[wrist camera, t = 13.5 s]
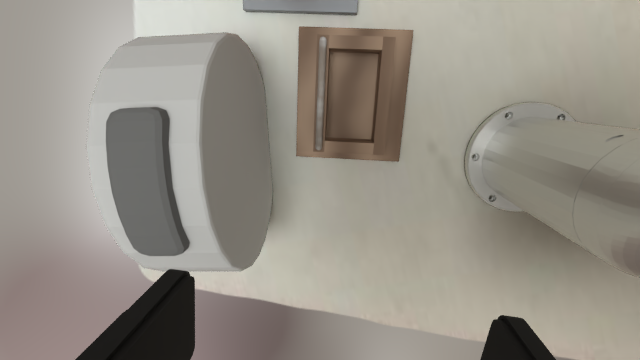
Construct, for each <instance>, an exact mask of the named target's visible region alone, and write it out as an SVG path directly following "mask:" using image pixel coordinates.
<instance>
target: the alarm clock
mask: <svg viewBox="0 0 640 360" xmlns="http://www.w3.org/2000/svg"><path fill="white" fill-rule="evenodd" d="M86 149H87V157H88V165H89V171H90V180H91V188H92V191H93V194H94V197H95V199H96V202H97V205H98V208H99V211H100V213H101V216H102V219H103V222H104V225H105V227H106V228H107V230H108V231H109V233H110V234H111V235H112V237H113V238H114V240H115V241H116V243H117V244H118V246H119V247H120V248H121V250H122V252H123V253H125V254H126V255H127V256H129V257H130V258H131V259H133V260H134V261H135V262H137V263H138V264H139V265H141V266H142V267H144V268H148V269H153V270H158V271H167V270H169V269H176V270H183V271H243V270H244V269H246V268H248V267H250V266H252V265H253V263H254V262H255V260H256V259H257V257H258V256H259V254H260V252H261V249H262V246H263V244H264V241H265V238H266V234H267V230H268V225H269V221H270V214H271V207H272V197H273V184H272V171H271V159H270V147H269V134H268V122H267V110H266V97H265V88H264V84H263V81H262V77H261V74H260V71H259V69H258V66H257V63H256V60H255V58H254V56H253V54H252V53H251V51H250V49H249V47H248V45H247V44H246V43H245V42H244V41H243V40H242V39H241V38H240V37H239V36H238V35H236V34H231V33H209V34H190V35H172V36H153V37H138V38H136V39H134V40H132V41H130V42H128V43H126V44H124V45H122V46H120V47H119V48H118V49H117V50H116V52H115V53H114V54H113V56H112V57H111V58H110V60H109V61H108V62H107V63H106V65H105V66H104V67H103V69H102V70H101V72H100V75H99V78H98V81H97V84H96V87H95V90H94V93H93V96H92V99H91V102H90V106H89V118H88V130H87V141H86Z"/></svg>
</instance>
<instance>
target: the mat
mask: <svg viewBox="0 0 640 360" xmlns="http://www.w3.org/2000/svg"><path fill="white" fill-rule="evenodd" d="M357 2H358V0H243V10H245V11H246V12H275V13H308V14H341V15H356V14H357Z"/></svg>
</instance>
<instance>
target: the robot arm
mask: <svg viewBox="0 0 640 360" xmlns="http://www.w3.org/2000/svg"><path fill="white" fill-rule="evenodd" d="M505 114H507V116H506V117H505ZM557 117H558V118H557ZM473 154H474V157H473V158H472V155H473ZM465 172H466V177H467V180H468V182H469V184H470V186H471V188H472V189H473V191H474V192H475V193H476V194H477V195H478V196H479V197H480V198H481V199H482V200H483V201H485V202H486V203H488V204H489V205H491V206H493V207H496V208H498V209H501V210H505V211H513V212H521V211H526V212H527V213H529V214H530V215H532V216H533V217H535V218H536V219H538V220H540V221H541V222H543V223H544V224H546V225H547V226H549V227H551V228H552V229H554V230H555V231H557V232H558V233H560V234H562V235H563V236H565V237H566V238H568V239H569V240H571V241H573V242H574V243H576V244H577V245H579V246H581V247H582V248H584V249H585V250H587V251H588V252H590V253H592V254H593V255H595V256H596V257H598V258H600V259H602V260H603V261H605V262H606V263H608V264H610V265H611V266H613V267H615V268H617V269H619V270H621V271H623V272H625V273H628V274H630V275H633V276H636V277H639V278H640V130H639V129H631V128H623V127H614V126H606V125H598V124H589V123H581V122H576V121H575V120H574V119H573V118H572V117H571V116H570V115H569V114H568V113H567V112H565V111H564V110H562V109H561V108H559V107H556V106H553V105H551V104H546V103H539V102H525V103H518V104H514V105H511V106H508V107H505V108H503V109H501V110H499V111H497V112H495V113H494V114H493V115H491V116H490V117H489V118H487V119H486V120H485V121H484V122H483V123H482V124H481V125H480V126H479V127H478V129H477V130H476V132H475V133H474V135H473V136H472V138H471V140H470V142H469V145H468V147H467V151H466V155H465ZM489 196H491V197H489ZM194 347H195V281H194V277H192V276H190V274H189V272H188V271H183V270H176V269H169V270H167V271H166V272H165V273H164V274H163V275H162V276H161V277H160V278H159V279H158V280H157V281H156V282H155V283H154V284H153V285H152V286H151V287H150V288H149V289H148V290H147V291H146V292H145V293H144V294H143V295H142V296H141V297H140V298H139V299H138V300H137V301H136V302H135V303H134V304H133V305H132V306H131V307H130V308H129V309H128V310H126V311H125V312H124V313H122V314H121V315H120V316H119V317H118V318H117V319H116V320H115V321H114V322H113V323H112V324H111V325H110V326H109V327H108V328H107V329H106V330H105V331H104V332H103V333H102V334H101V335H100V336H99V337H98V338H97V339H96V340H95V341H94V342H93V343H92V344H91V345H90V346H89V347H88V348H87V349H86V350H85V351H84V352H83V353H82V354H81V355H80V356H79V357H78V358H77V359H76V360H190V359H191V357H192V355H193V351H194ZM481 360H556V359H555V358H554V357H553V355H552V354H551V353H550V352H549V350H548V349H547V348H546V346H545V345H544V344H543V343H542V341H541V340H540V339H539V338H538V336H537V335H536V334H535V333H534V331H533V330H532V329H531V328H530V326H529V325H528V324H527V322H526V321H525V320H524V319H522V318H518V317H511V316H504V315H502V316H500V317H498V319H497V320H493V322H492V324H491V327H490V330H489V334H488V337H487V340H486V344H485V347H484V350H483V353H482V357H481Z"/></svg>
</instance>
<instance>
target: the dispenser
mask: <svg viewBox="0 0 640 360" xmlns="http://www.w3.org/2000/svg"><path fill="white" fill-rule="evenodd" d="M412 38H413V30H389V29H359V28H328V27H299V56H298V103H297V150H296V156H304V157H323V158H342V159H361V160H380V161H399V155H400V146H401V137H402V128H403V119H404V110H405V101H406V92H407V83H408V74H409V65H410V56H411V47H412Z"/></svg>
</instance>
